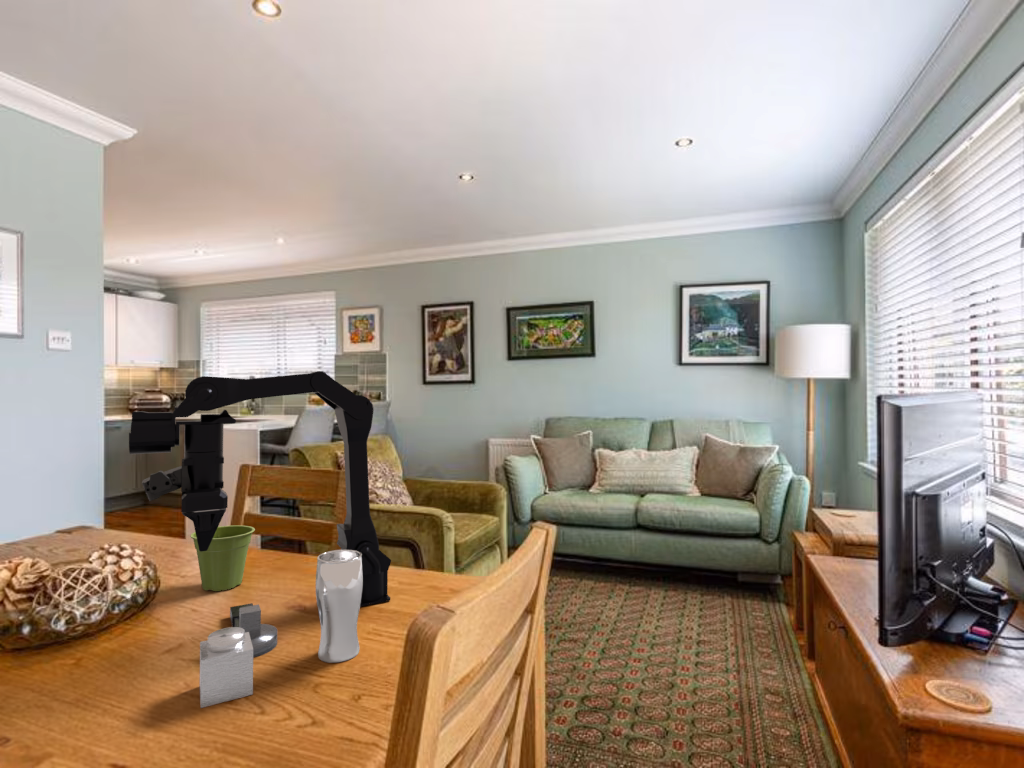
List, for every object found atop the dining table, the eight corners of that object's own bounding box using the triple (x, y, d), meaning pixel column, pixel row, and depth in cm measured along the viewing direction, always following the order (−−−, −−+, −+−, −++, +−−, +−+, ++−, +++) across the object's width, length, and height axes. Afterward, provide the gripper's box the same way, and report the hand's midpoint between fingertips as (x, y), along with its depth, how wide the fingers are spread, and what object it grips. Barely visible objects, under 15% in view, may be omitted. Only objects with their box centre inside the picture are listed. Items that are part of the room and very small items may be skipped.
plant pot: (265, 582, 114) (266, 529, 114) (209, 600, 104) (210, 542, 104) (234, 572, 120) (234, 522, 120) (177, 588, 110) (178, 533, 110)
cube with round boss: (248, 674, 77) (248, 621, 77) (252, 694, 71) (253, 637, 72) (199, 686, 73) (200, 630, 74) (200, 708, 68) (201, 648, 68)
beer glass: (371, 646, 85) (372, 551, 85) (343, 667, 78) (344, 564, 79) (334, 640, 87) (335, 547, 88) (304, 660, 81) (305, 559, 81)
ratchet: (280, 651, 83) (281, 612, 84) (222, 664, 79) (222, 623, 79) (265, 610, 99) (266, 577, 99) (216, 619, 95) (216, 585, 95)
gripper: (149, 448, 94) (147, 538, 94) (142, 459, 78) (140, 567, 78) (221, 445, 100) (220, 529, 100) (228, 455, 84) (227, 555, 84)
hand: (202, 544), depth 90 cm, fingers open, 9 cm apart
